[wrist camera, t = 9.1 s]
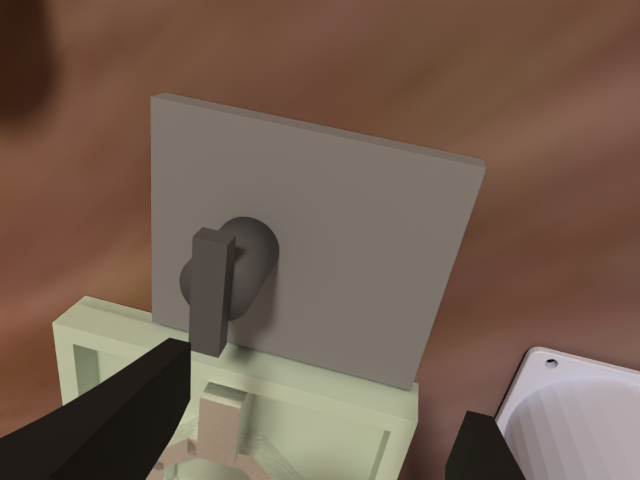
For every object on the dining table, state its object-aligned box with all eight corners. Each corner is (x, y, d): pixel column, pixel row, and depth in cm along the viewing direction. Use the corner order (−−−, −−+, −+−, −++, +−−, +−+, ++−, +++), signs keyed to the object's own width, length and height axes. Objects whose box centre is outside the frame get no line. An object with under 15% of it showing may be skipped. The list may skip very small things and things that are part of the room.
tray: (418, 383, 23) (417, 422, 20) (346, 588, 31) (340, 631, 29) (85, 295, 25) (52, 322, 22) (103, 511, 33) (81, 546, 31)
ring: (287, 540, 29) (277, 581, 27) (157, 499, 30) (137, 536, 28) (321, 391, 23) (311, 428, 21) (157, 346, 24) (132, 378, 22)
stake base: (482, 159, 18) (507, 212, 13) (410, 373, 23) (408, 472, 18) (165, 92, 19) (75, 117, 14) (164, 308, 24) (97, 383, 19)
